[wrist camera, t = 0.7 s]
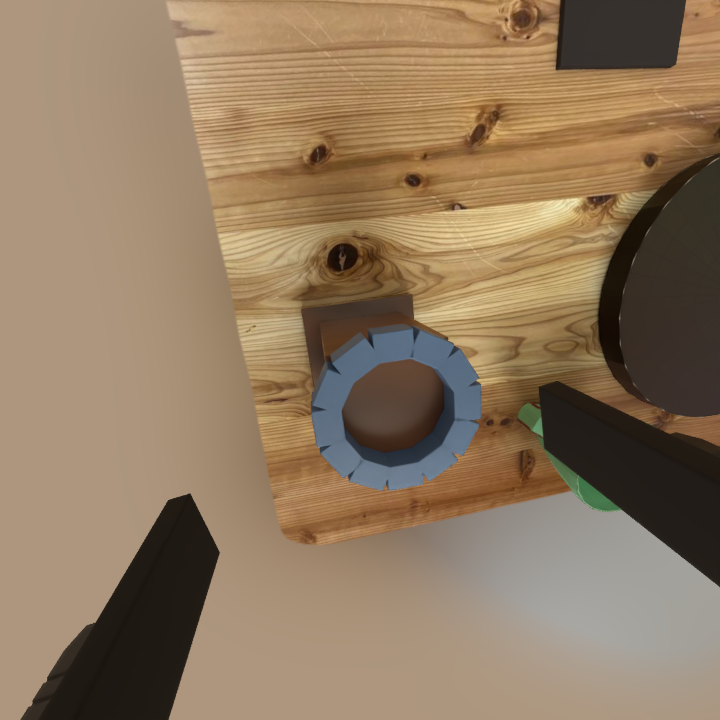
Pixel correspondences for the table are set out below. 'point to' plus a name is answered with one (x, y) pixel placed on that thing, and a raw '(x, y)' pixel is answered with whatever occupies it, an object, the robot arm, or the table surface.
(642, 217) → the disc
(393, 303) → the stand
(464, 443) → the ring
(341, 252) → the table surface
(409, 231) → the table surface
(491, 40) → the table surface
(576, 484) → the mug
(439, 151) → the table surface
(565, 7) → the mat
